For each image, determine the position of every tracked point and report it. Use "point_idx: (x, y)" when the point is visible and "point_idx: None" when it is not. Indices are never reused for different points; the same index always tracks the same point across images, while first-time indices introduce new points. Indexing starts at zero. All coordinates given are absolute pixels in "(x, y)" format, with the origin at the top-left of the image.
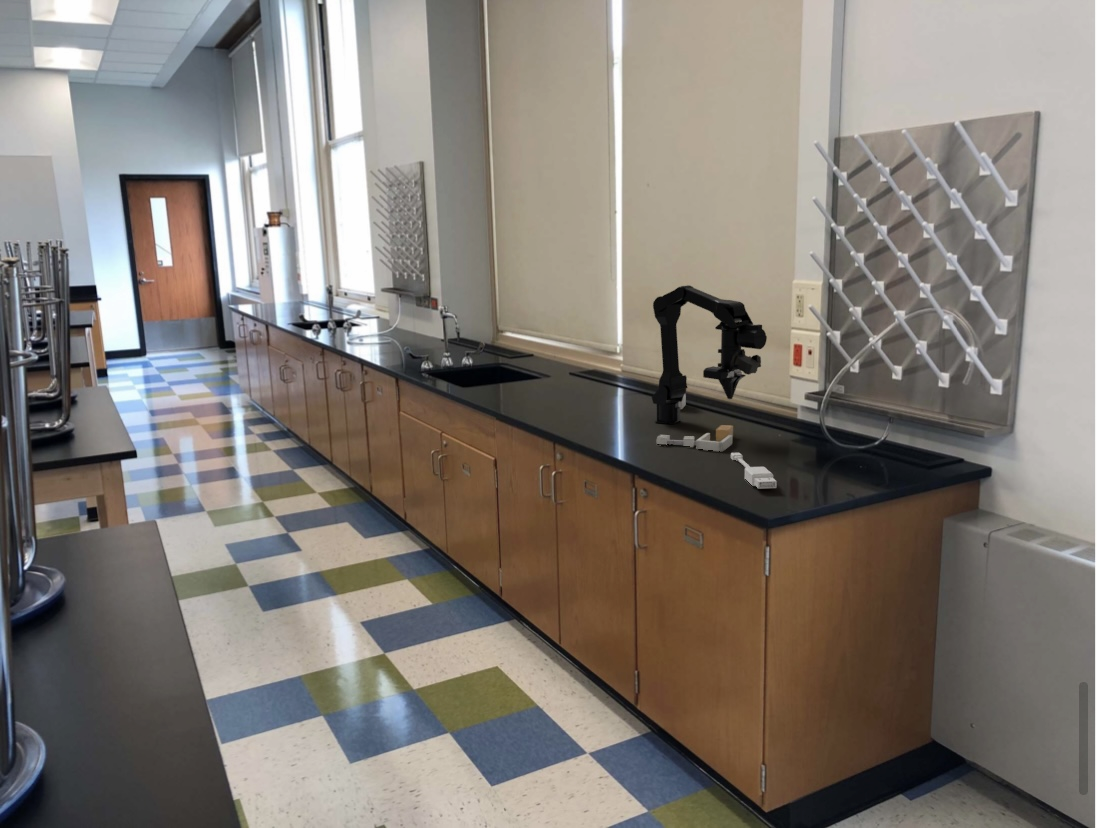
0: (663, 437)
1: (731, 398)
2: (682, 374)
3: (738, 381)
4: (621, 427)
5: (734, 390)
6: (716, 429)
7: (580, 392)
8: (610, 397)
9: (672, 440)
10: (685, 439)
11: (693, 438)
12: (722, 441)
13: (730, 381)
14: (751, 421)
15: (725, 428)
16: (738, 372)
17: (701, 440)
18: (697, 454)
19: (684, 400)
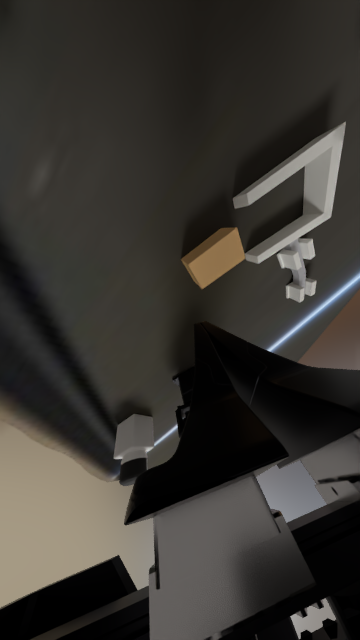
0: (315, 285)
1: (199, 323)
2: (121, 481)
3: (195, 398)
4: None
5: (201, 345)
6: (244, 257)
7: (172, 448)
8: (164, 441)
9: (303, 276)
10: (312, 252)
11: (309, 241)
12: (327, 141)
13: (328, 372)
14: (62, 345)
15: (224, 251)
16: (225, 554)
17: (327, 206)
18: (349, 173)
19: (122, 430)
